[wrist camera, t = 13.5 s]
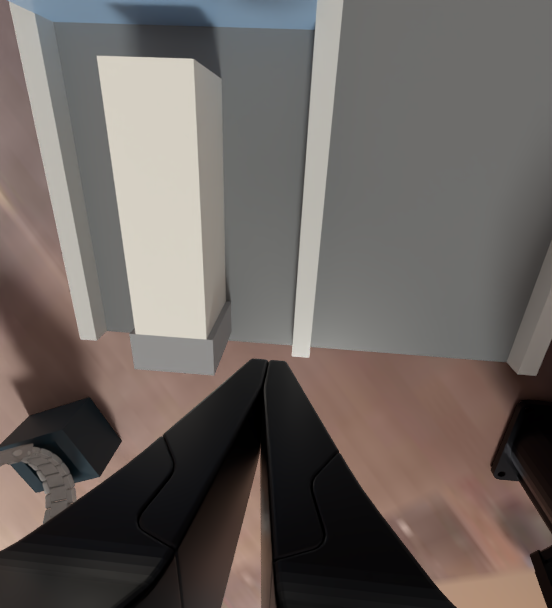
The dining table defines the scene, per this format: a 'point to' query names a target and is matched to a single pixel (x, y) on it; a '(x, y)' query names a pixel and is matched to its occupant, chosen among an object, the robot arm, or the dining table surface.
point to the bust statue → (60, 451)
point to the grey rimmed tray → (329, 165)
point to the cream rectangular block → (170, 207)
